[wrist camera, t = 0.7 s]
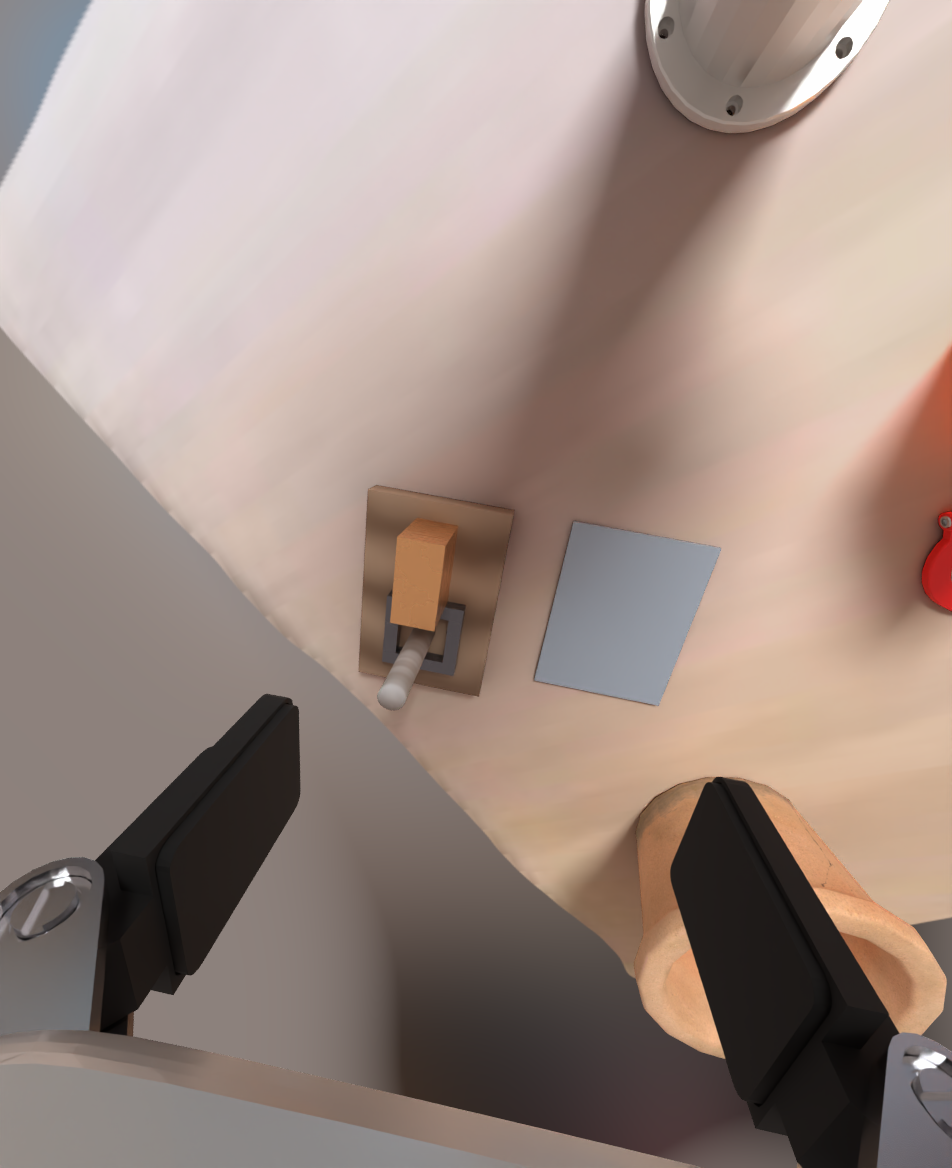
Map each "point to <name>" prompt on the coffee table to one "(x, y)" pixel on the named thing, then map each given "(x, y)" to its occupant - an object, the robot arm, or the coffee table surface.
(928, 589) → the tow hook
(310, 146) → the coffee table surface
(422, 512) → the post stand
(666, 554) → the mat
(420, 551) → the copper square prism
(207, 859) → the robot arm
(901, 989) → the pottery
